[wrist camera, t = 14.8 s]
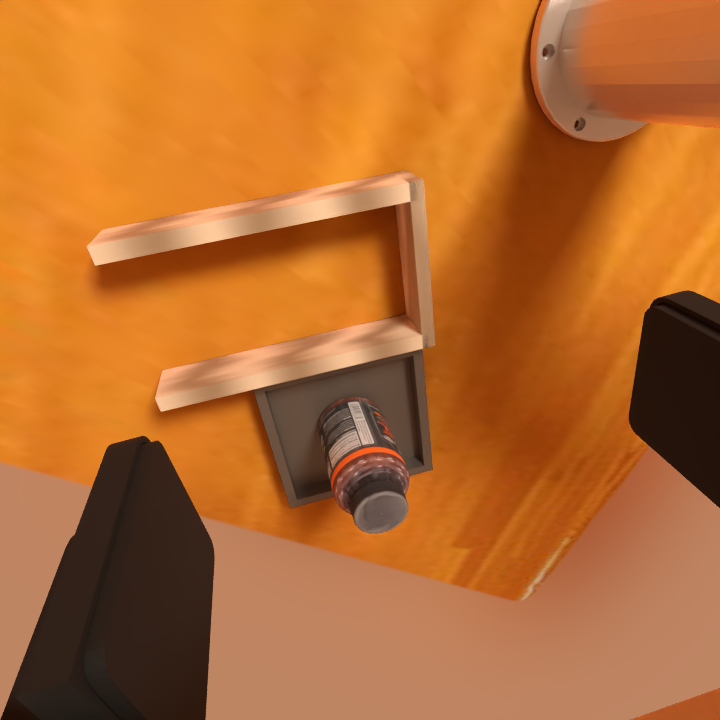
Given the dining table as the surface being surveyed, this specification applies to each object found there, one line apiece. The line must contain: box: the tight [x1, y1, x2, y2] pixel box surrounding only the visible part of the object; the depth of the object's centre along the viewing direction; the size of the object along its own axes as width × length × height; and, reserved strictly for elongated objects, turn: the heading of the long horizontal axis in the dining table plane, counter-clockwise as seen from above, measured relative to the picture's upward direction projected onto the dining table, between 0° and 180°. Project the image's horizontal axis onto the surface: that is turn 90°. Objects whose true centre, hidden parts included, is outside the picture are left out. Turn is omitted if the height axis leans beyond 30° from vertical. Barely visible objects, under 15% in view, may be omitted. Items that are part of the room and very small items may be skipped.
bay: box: [87, 171, 435, 412], centre depth 35 cm, size 21×12×4 cm, turn 99°
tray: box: [253, 349, 433, 508], centre depth 43 cm, size 14×14×2 cm
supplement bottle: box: [318, 396, 409, 533], centre depth 39 cm, size 6×6×11 cm
